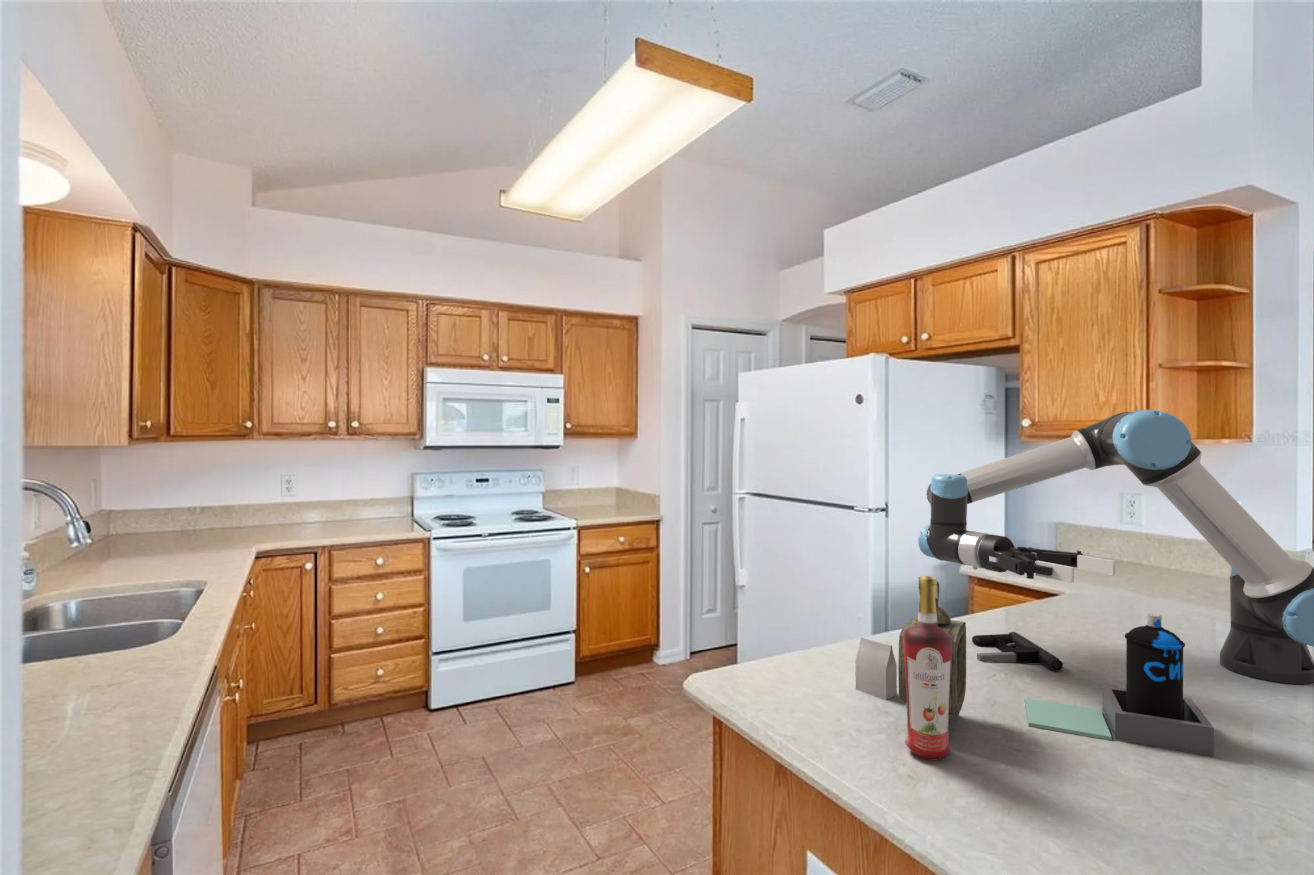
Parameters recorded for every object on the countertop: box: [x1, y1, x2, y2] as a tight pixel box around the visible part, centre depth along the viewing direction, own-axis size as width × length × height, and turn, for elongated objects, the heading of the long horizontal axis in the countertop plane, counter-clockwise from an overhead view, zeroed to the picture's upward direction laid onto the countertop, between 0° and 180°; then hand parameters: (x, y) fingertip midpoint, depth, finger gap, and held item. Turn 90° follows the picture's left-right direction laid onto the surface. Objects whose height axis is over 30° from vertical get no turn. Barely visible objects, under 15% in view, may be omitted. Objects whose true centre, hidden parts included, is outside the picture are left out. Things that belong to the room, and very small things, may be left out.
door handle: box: [971, 631, 1064, 672], centre depth 149 cm, size 3×20×16 cm
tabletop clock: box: [897, 580, 967, 739], centre depth 115 cm, size 14×9×25 cm, turn 148°
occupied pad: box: [1024, 697, 1113, 741], centre depth 116 cm, size 12×12×1 cm
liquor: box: [903, 575, 953, 761], centre depth 104 cm, size 7×7×28 cm
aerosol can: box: [1124, 612, 1186, 721], centre depth 111 cm, size 8×8×20 cm
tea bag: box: [855, 637, 898, 701], centre depth 129 cm, size 4×7×10 cm, turn 39°
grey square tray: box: [1101, 685, 1215, 758], centre depth 111 cm, size 13×13×4 cm
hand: (1094, 571), depth 120 cm, fingers open, 13 cm apart
